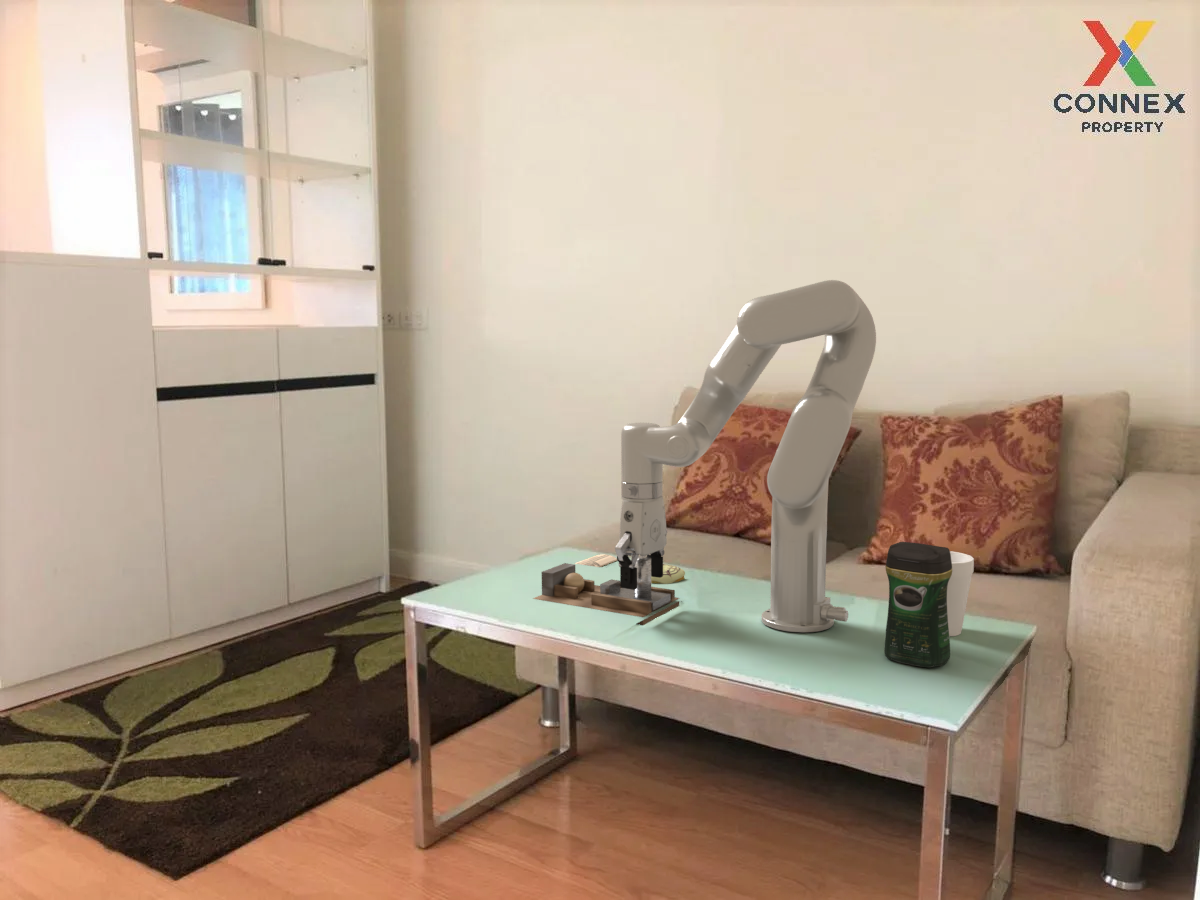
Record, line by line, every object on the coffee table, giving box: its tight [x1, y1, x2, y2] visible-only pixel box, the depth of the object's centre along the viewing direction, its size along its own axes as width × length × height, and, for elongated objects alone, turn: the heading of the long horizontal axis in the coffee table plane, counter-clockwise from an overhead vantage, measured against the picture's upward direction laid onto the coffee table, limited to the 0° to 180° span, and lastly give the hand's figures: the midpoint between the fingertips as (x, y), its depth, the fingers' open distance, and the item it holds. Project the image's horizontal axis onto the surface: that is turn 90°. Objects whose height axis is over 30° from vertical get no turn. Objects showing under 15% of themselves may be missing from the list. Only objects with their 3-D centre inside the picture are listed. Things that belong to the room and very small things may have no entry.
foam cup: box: [947, 550, 975, 637], centre depth 167 cm, size 10×9×13 cm
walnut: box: [564, 572, 585, 593], centre depth 189 cm, size 4×4×4 cm
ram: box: [599, 555, 672, 611], centre depth 181 cm, size 12×7×8 cm, turn 58°
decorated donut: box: [651, 563, 686, 585], centre depth 200 cm, size 10×11×4 cm
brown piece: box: [532, 562, 680, 626], centre depth 185 cm, size 24×14×6 cm, turn 58°
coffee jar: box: [883, 541, 952, 668], centre depth 153 cm, size 10×8×19 cm
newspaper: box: [573, 553, 618, 568], centre depth 213 cm, size 24×7×2 cm, turn 147°
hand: (642, 582), depth 180 cm, fingers open, 9 cm apart
